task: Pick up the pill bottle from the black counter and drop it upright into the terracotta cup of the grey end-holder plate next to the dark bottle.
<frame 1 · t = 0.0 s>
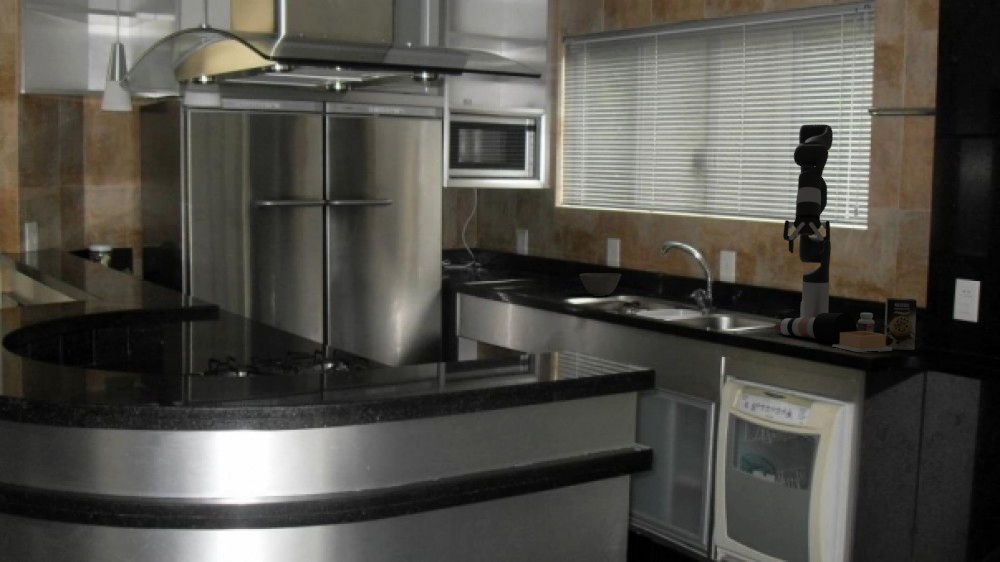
hand: (805, 253, 377), 31 cm above the table, tool tilted 20°, fingers open, 8 cm apart
cookie box: (899, 348, 390), on the table
end holder: (862, 349, 388), on the table
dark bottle: (809, 340, 410), on the table
pill bottle: (865, 342, 403), on the table
bowl: (600, 296, 541), on the table
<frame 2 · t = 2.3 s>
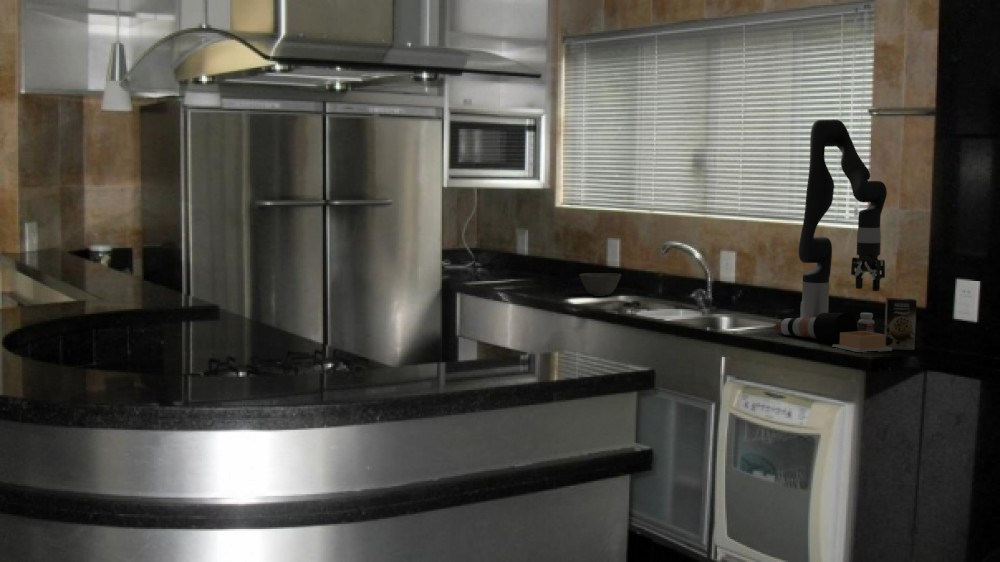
hand: (867, 289, 401), 18 cm above the table, tool pointing down, fingers open, 8 cm apart
nothing on the table moved.
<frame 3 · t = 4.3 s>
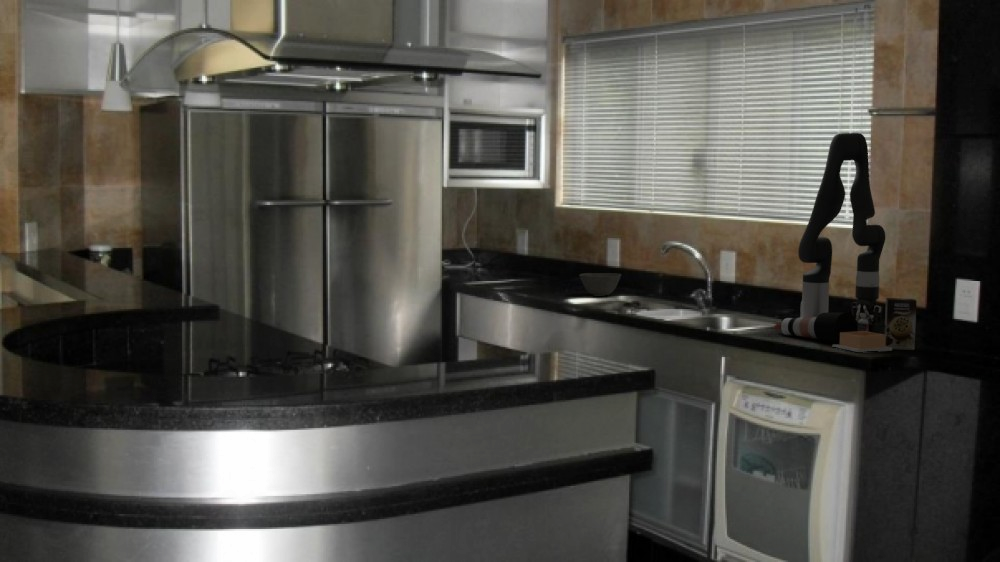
hand: (865, 334, 403), 2 cm above the table, tool pointing down, fingers closed on pill bottle, 5 cm apart
pill bottle: (865, 342, 403), on the table, touching gripper
everything else where it was.
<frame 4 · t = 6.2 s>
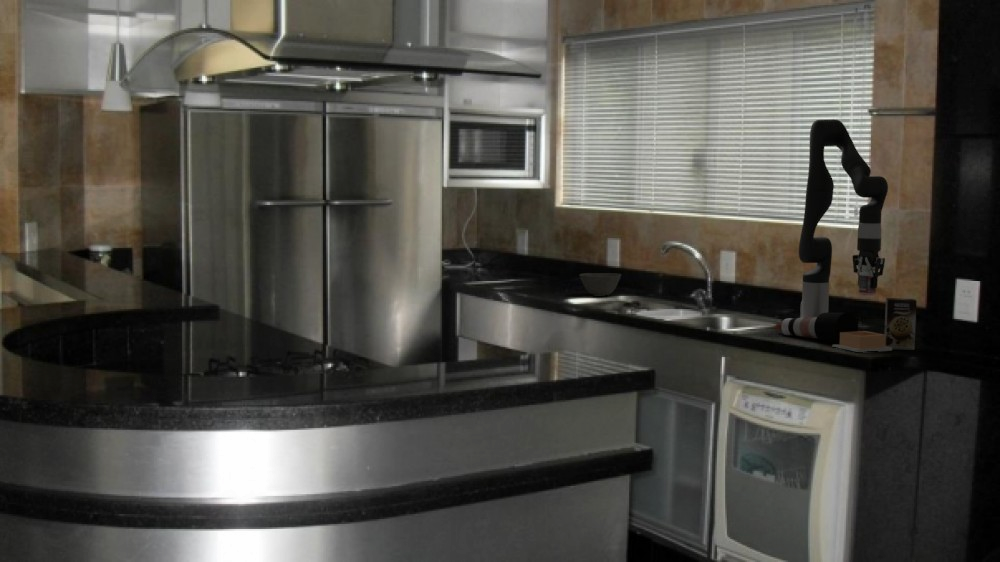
hand: (867, 287, 401), 19 cm above the table, tool pointing down, fingers closed on pill bottle, 5 cm apart
pill bottle: (867, 295, 401), point 16 cm above the table, touching gripper
everything else where it was.
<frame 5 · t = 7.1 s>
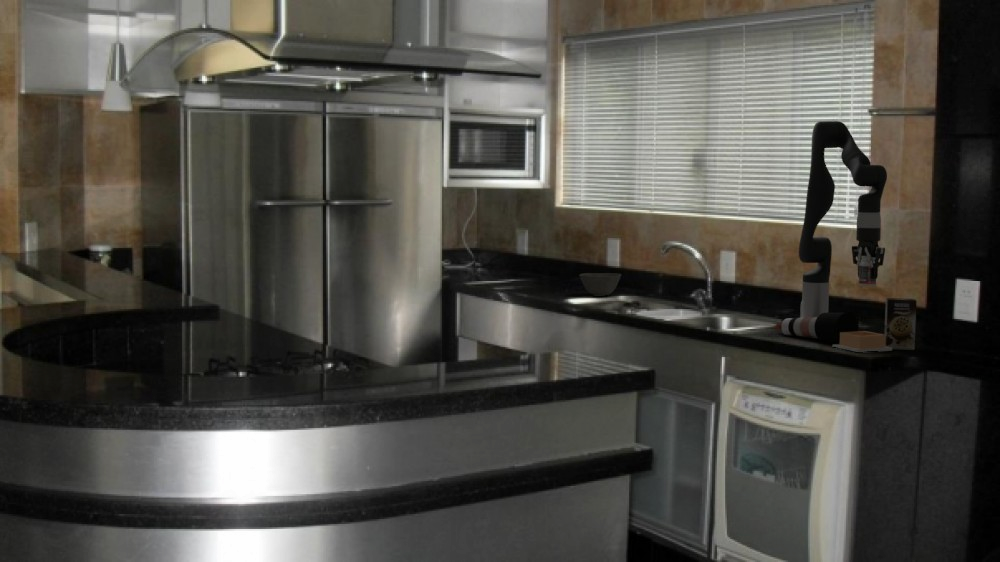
hand: (867, 278, 393), 22 cm above the table, tool pointing down, fingers closed on pill bottle, 5 cm apart
pill bottle: (867, 286, 393), point 20 cm above the table, touching gripper
everything else where it was.
when the fingers open (5 cm above the table, at t = 10.2 s): pill bottle drops 2 cm, resting on end holder.
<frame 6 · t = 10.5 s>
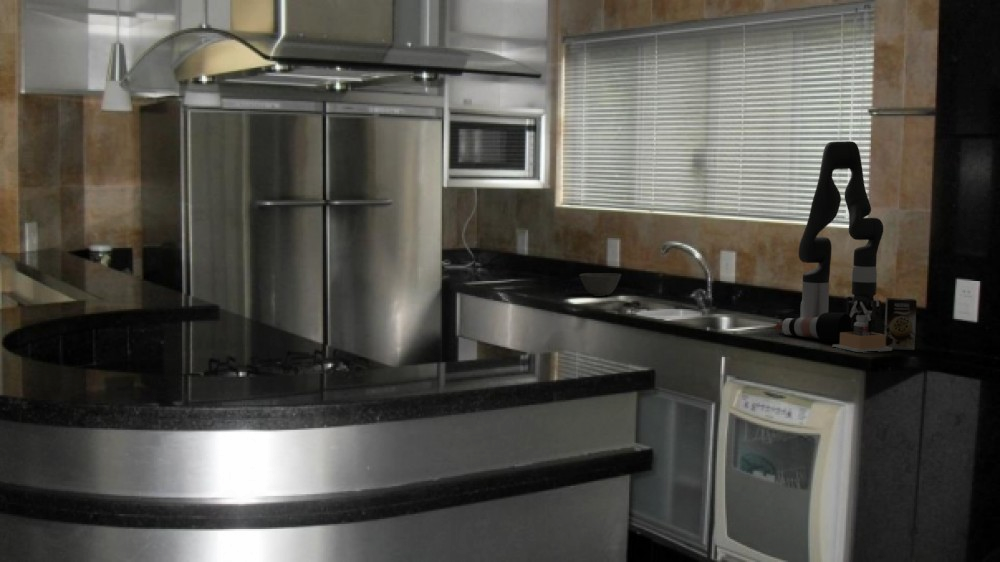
hand: (862, 330, 387), 6 cm above the table, tool pointing down, fingers open, 8 cm apart
pill bottle: (861, 346, 388), point 1 cm above the table, touching end holder
everything else where it was.
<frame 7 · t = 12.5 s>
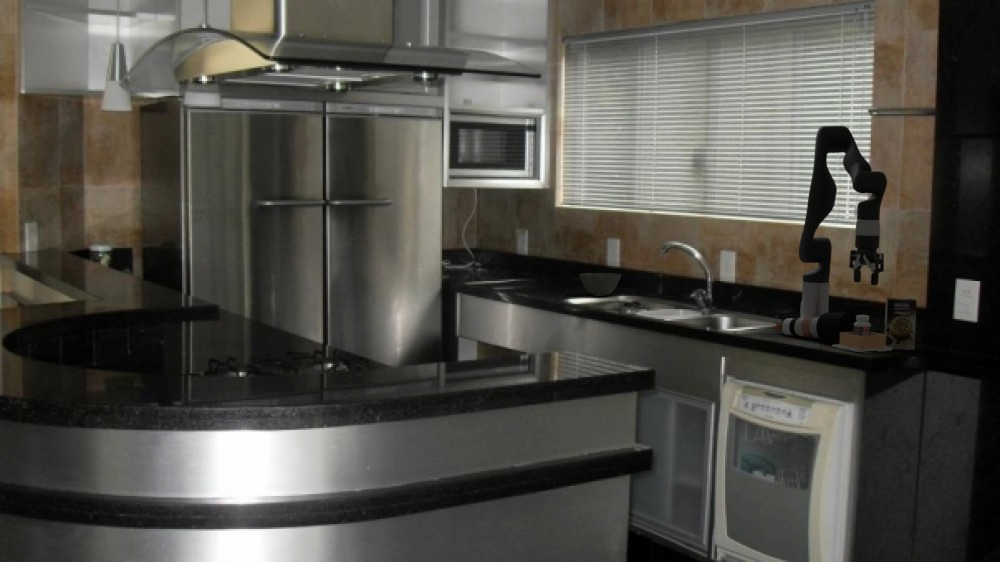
hand: (865, 283, 389), 21 cm above the table, tool pointing down, fingers open, 8 cm apart
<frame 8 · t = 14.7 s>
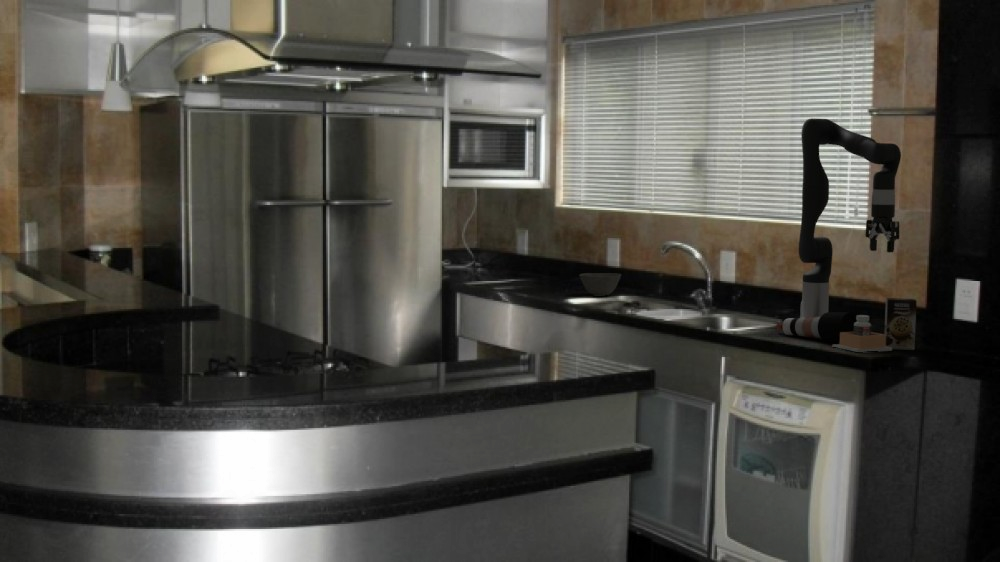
hand: (881, 251, 404), 30 cm above the table, tool pointing down, fingers open, 8 cm apart
at the end: pill bottle 0.2 cm off-centre on the end holder, point 0.8 cm above the end holder's base; pill bottle tilted 0°; the gripper is holding nothing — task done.
